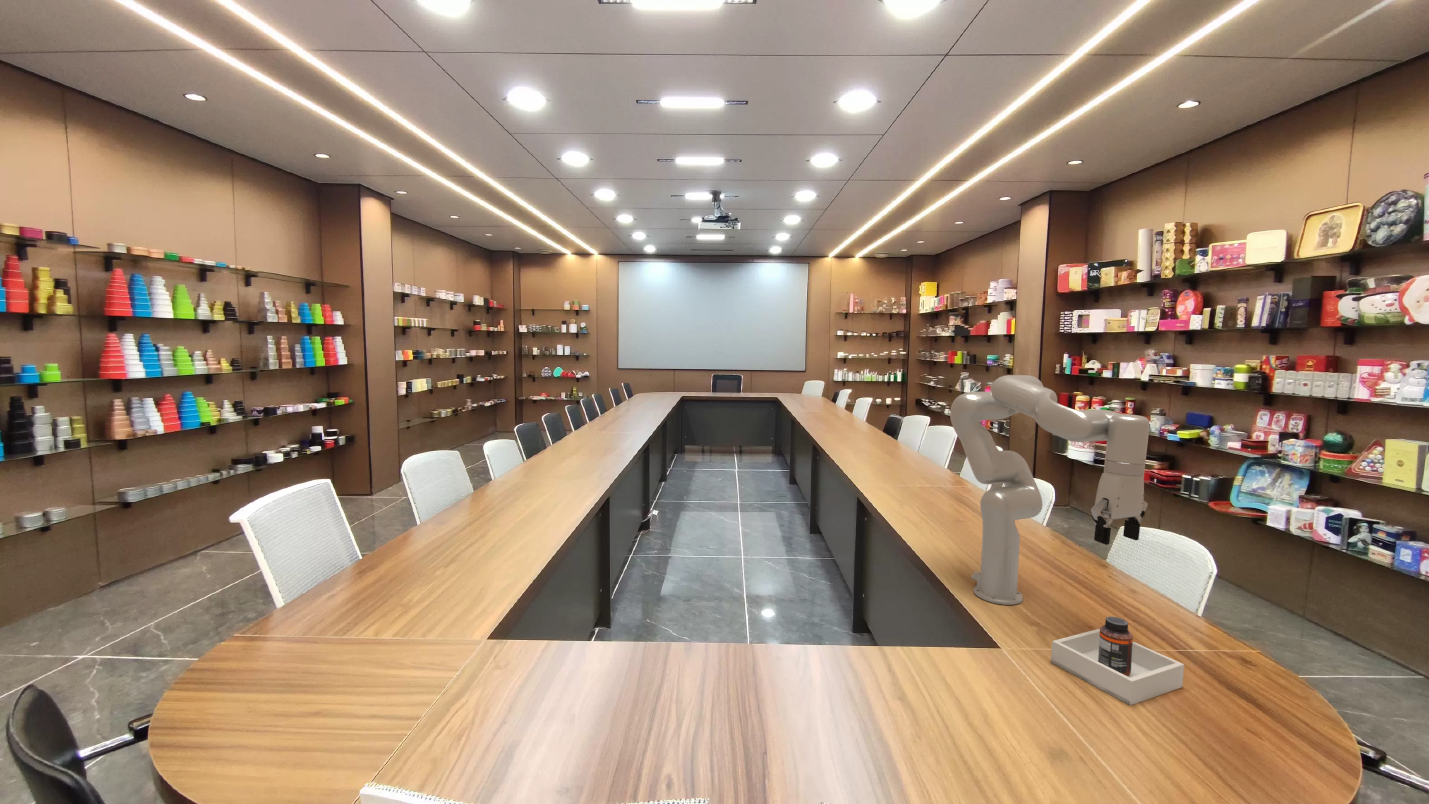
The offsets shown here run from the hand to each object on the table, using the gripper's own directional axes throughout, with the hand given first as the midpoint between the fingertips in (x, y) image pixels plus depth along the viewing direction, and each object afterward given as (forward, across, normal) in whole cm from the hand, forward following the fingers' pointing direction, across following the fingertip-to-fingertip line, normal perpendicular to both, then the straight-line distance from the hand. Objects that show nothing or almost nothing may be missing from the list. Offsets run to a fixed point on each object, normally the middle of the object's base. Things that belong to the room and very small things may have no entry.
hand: (1116, 540), depth 133 cm
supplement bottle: (+26, +9, +9) cm, 29 cm away
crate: (+26, +9, +9) cm, 29 cm away
